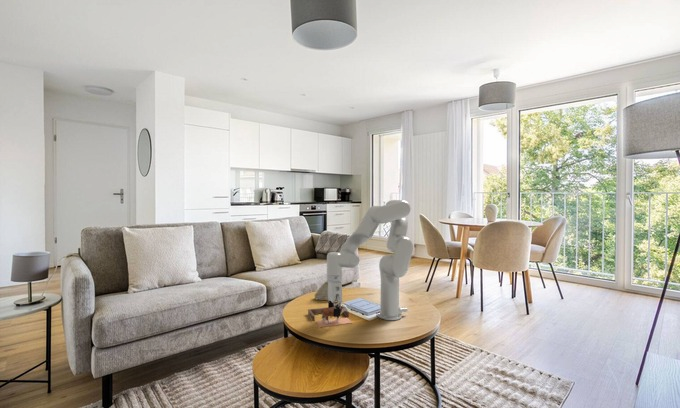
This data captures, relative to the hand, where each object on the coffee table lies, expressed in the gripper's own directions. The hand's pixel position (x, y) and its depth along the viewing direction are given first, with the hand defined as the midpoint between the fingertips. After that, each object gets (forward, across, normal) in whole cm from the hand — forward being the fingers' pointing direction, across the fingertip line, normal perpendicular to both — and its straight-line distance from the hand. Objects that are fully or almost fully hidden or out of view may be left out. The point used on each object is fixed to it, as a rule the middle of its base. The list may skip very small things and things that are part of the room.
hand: (334, 313), depth 156 cm
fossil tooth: (+5, +36, -6) cm, 37 cm away
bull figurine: (+4, 0, 0) cm, 4 cm away
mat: (+5, 0, 0) cm, 5 cm away
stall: (+5, +10, 0) cm, 11 cm away
